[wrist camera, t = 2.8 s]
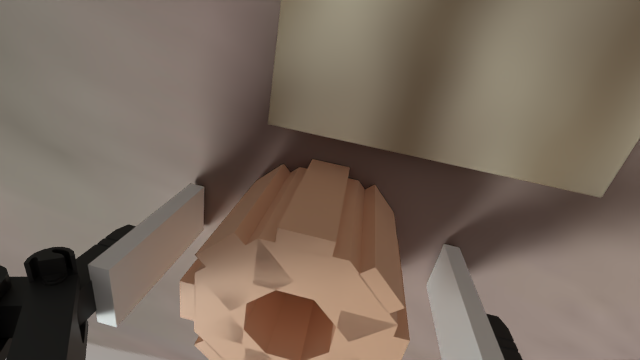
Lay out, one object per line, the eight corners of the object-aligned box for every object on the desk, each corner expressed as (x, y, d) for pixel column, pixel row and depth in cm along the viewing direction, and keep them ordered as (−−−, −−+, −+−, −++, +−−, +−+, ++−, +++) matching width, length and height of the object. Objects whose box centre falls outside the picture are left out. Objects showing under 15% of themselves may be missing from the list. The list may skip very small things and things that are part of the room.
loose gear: (237, 273, 19) (181, 370, 13) (248, 144, 15) (178, 203, 10) (373, 308, 18) (372, 424, 13) (416, 182, 15) (442, 267, 9)
